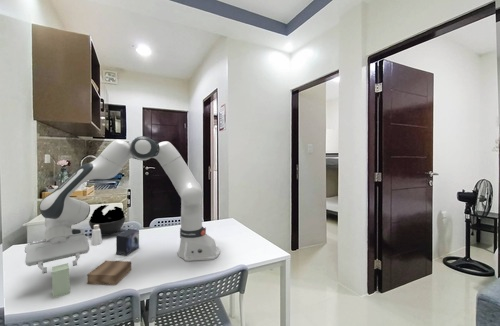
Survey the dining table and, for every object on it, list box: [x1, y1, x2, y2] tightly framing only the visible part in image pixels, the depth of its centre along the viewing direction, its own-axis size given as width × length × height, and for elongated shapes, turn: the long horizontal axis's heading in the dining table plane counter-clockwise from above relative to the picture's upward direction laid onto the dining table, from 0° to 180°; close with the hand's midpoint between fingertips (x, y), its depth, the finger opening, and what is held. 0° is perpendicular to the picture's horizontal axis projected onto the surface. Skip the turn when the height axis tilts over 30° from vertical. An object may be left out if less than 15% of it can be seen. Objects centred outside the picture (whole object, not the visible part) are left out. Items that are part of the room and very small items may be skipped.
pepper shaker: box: [91, 225, 103, 246], centre depth 136 cm, size 5×5×11 cm
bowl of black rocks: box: [88, 204, 126, 236], centre depth 151 cm, size 20×20×19 cm
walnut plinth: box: [86, 260, 132, 286], centre depth 103 cm, size 12×12×4 cm
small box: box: [115, 228, 140, 256], centre depth 128 cm, size 11×6×10 cm, turn 168°
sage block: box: [51, 262, 71, 299], centre depth 91 cm, size 5×5×10 cm
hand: (60, 269), depth 93 cm, fingers open, 8 cm apart
